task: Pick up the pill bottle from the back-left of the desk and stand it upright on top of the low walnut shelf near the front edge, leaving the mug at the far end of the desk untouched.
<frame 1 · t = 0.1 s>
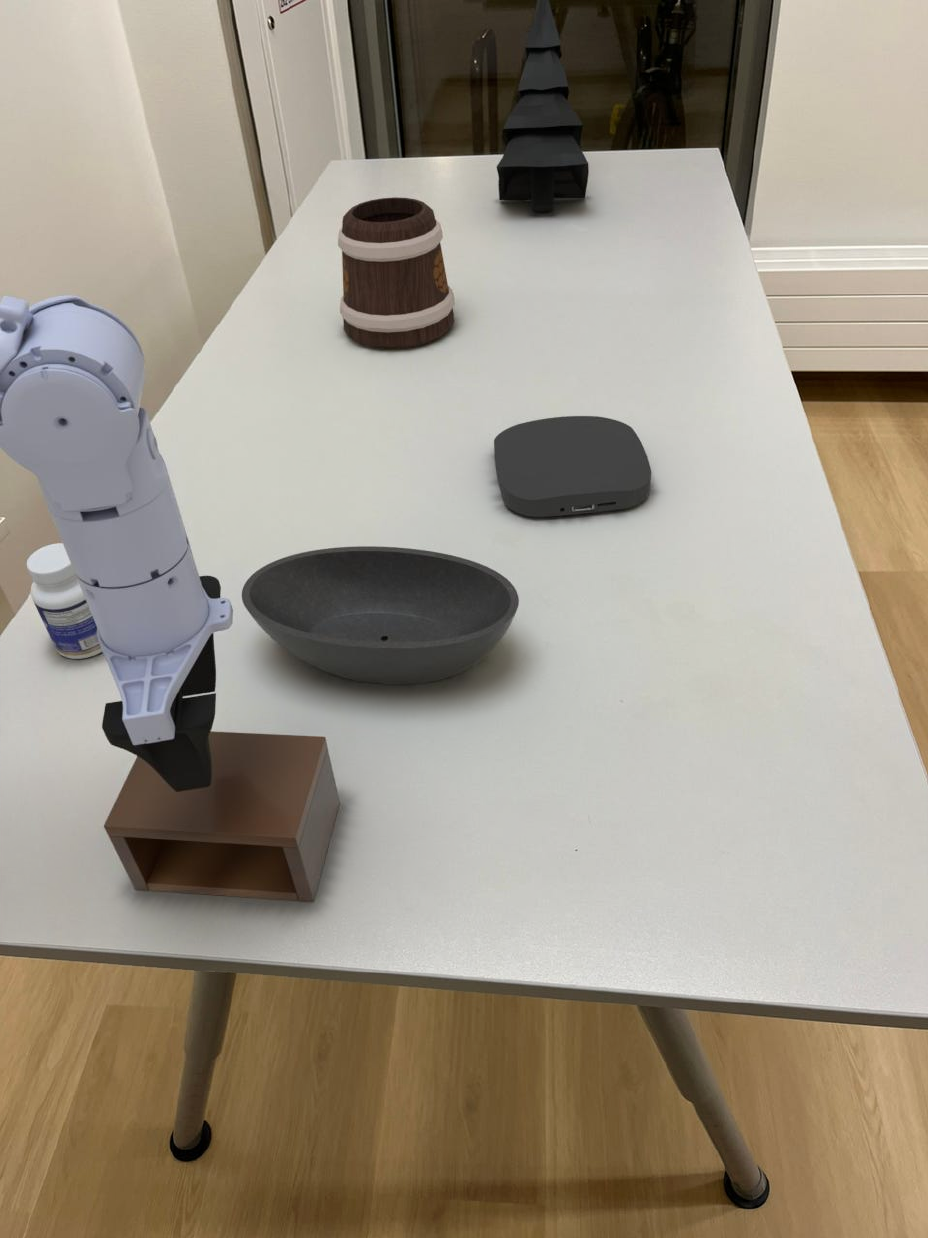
hand: (196, 735, 57), 11 cm above the table, tool pointing down, fingers open, 7 cm apart
mug: (402, 321, 128), on the table
shelf: (218, 779, 60), on the table
pill bottle: (88, 641, 81), on the table
decorative tree: (542, 200, 162), on the table
bowl: (387, 654, 78), on the table
media streaming box: (569, 477, 96), on the table
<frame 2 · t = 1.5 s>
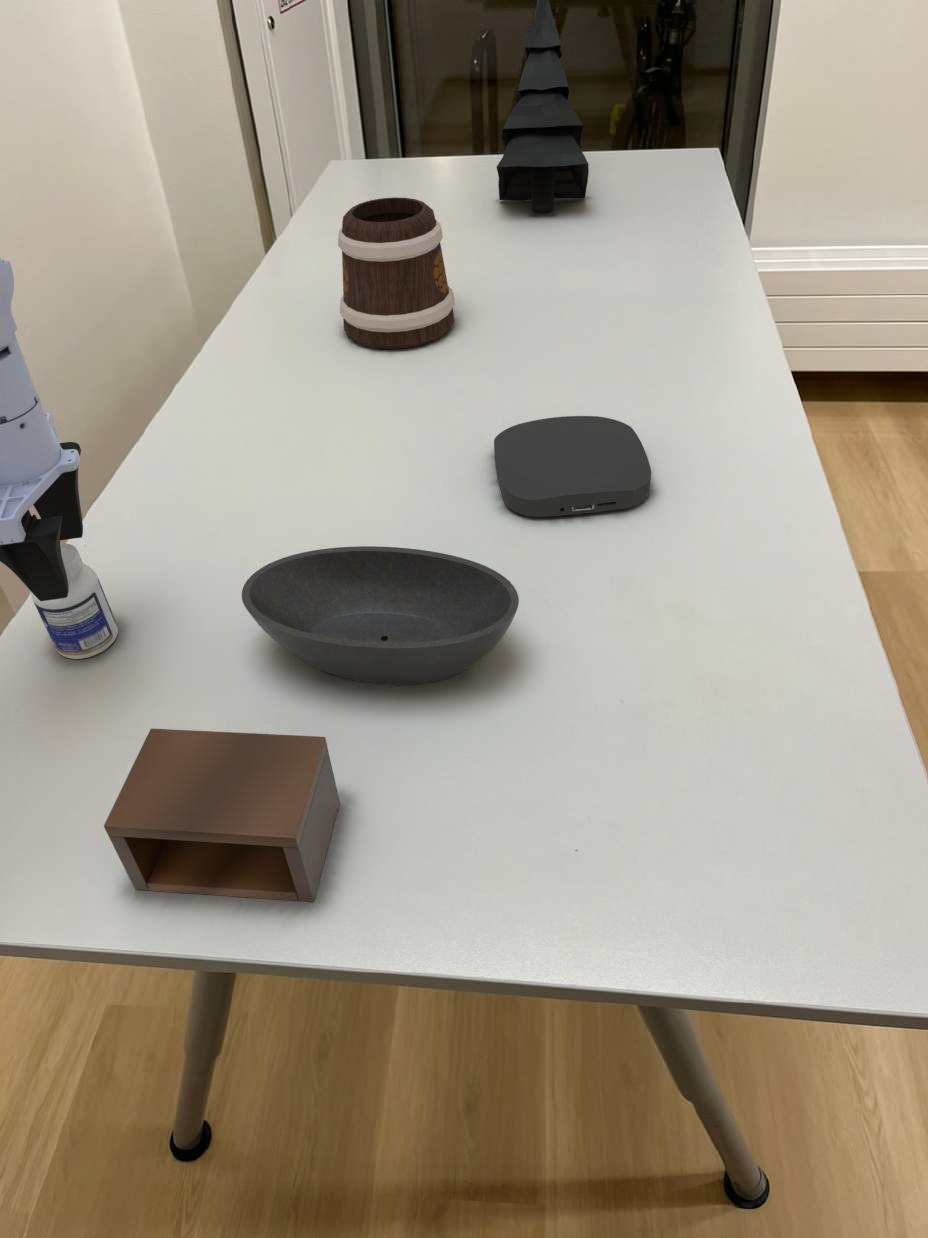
hand: (62, 565, 73), 10 cm above the table, tool pointing down, fingers open, 7 cm apart
nothing on the table moved.
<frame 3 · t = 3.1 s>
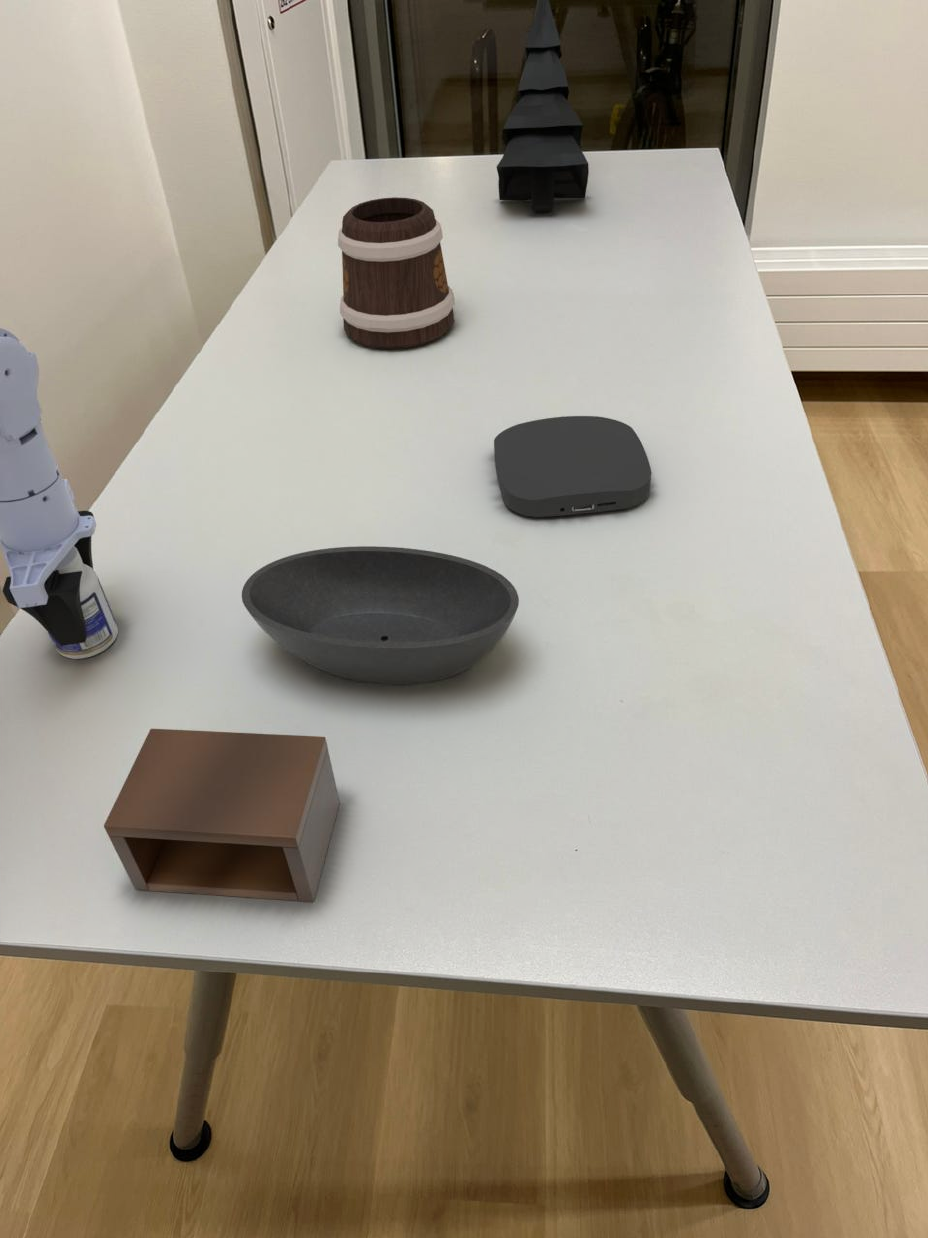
hand: (78, 618, 80), 2 cm above the table, tool pointing down, fingers closed on pill bottle, 5 cm apart
pill bottle: (88, 641, 81), on the table, touching gripper
everything else where it was.
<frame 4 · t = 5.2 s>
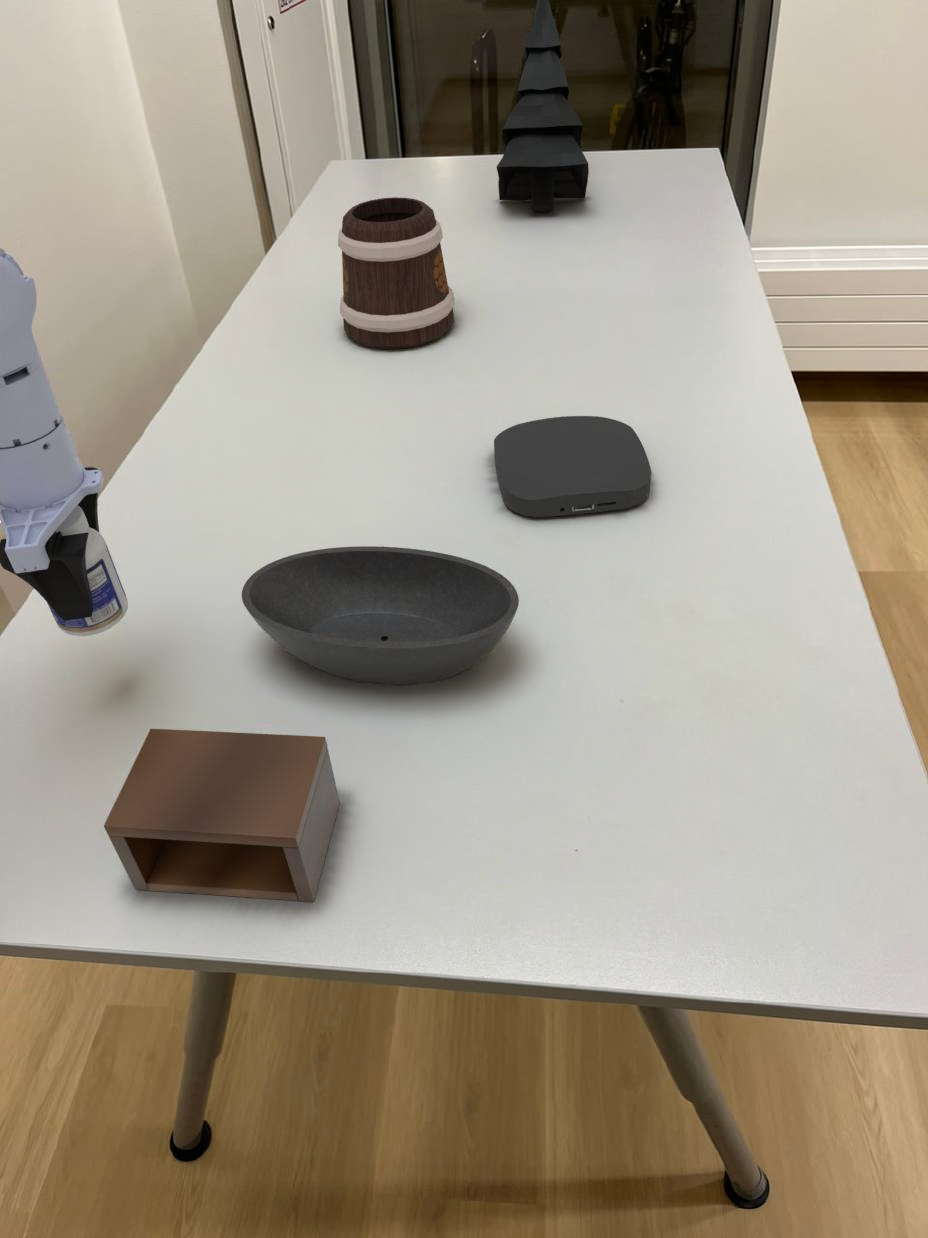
hand: (83, 590, 70), 10 cm above the table, tool pointing down, fingers closed on pill bottle, 5 cm apart
pill bottle: (94, 617, 72), point 8 cm above the table, touching gripper
everything else where it was.
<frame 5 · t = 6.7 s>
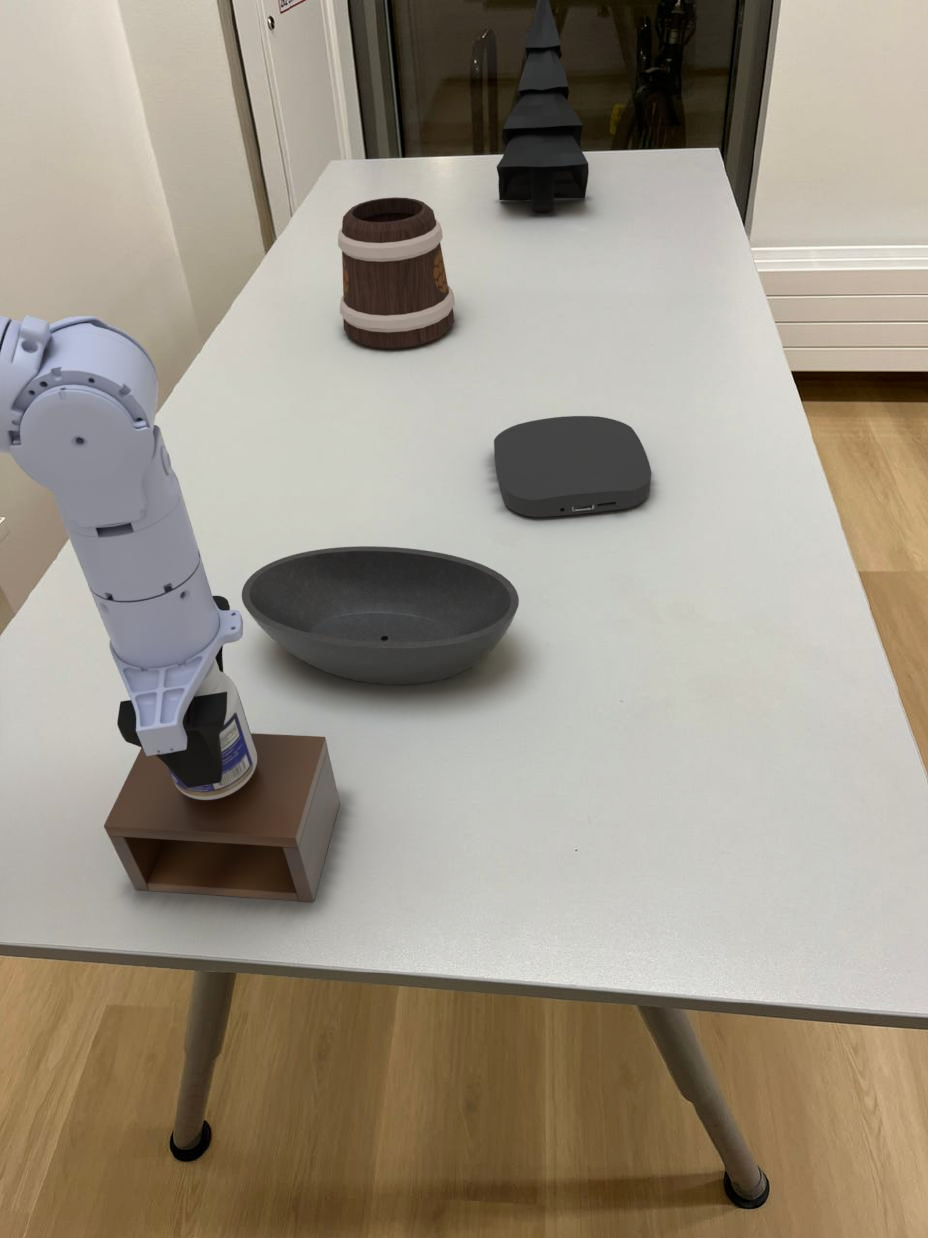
hand: (206, 744, 58), 10 cm above the table, tool pointing down, fingers closed on pill bottle, 5 cm apart
pill bottle: (216, 771, 59), point 8 cm above the table, touching gripper
everything else where it was.
when the fingers open (9 cm above the table, at t = 7.5 s): pill bottle stays where it is, resting on shelf.
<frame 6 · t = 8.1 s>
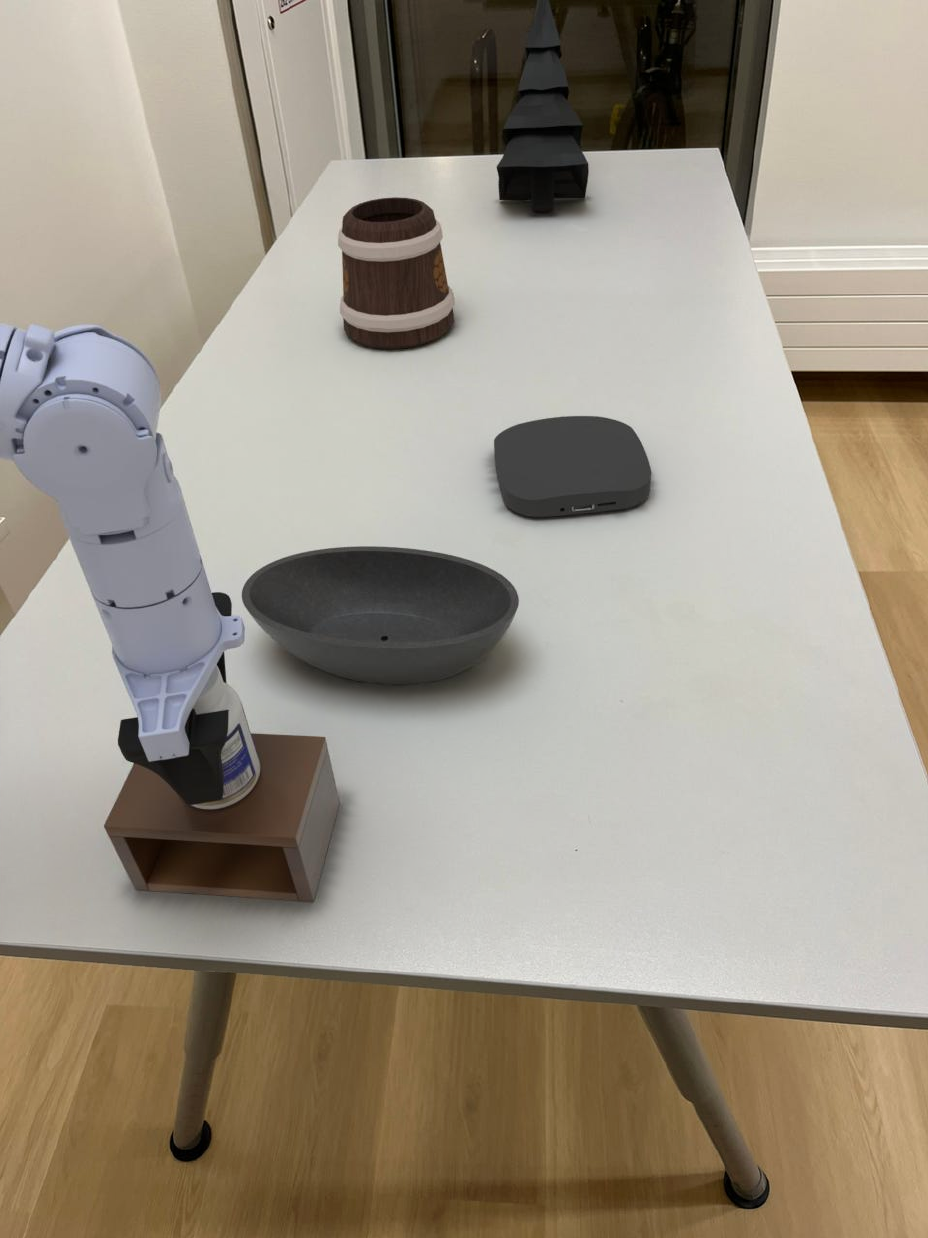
hand: (207, 749, 58), 10 cm above the table, tool pointing down, fingers open, 7 cm apart
pill bottle: (220, 780, 60), point 7 cm above the table, touching shelf
everything else where it was.
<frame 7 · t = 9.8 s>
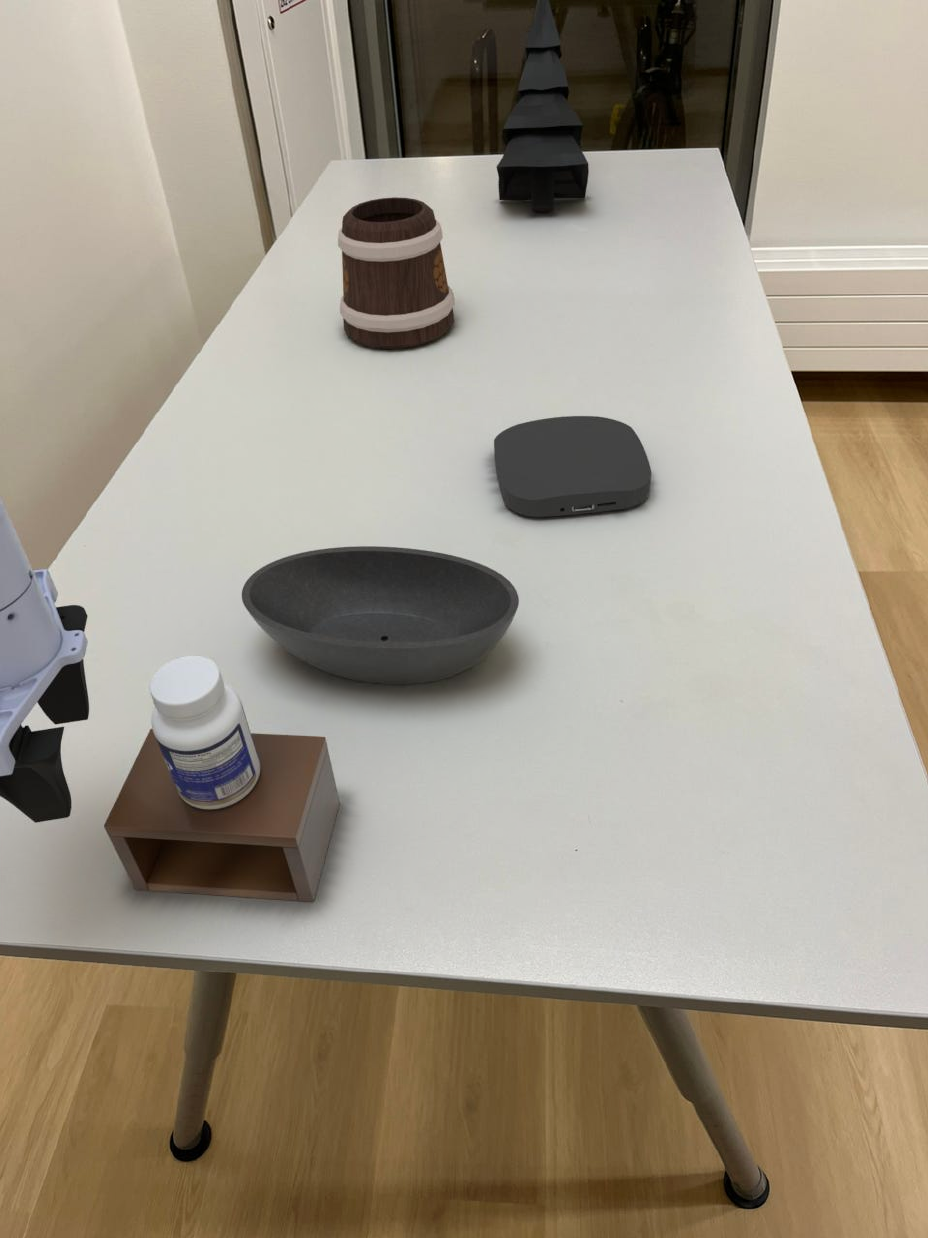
hand: (63, 764, 57), 10 cm above the table, tool pointing down, fingers open, 7 cm apart
nothing on the table moved.
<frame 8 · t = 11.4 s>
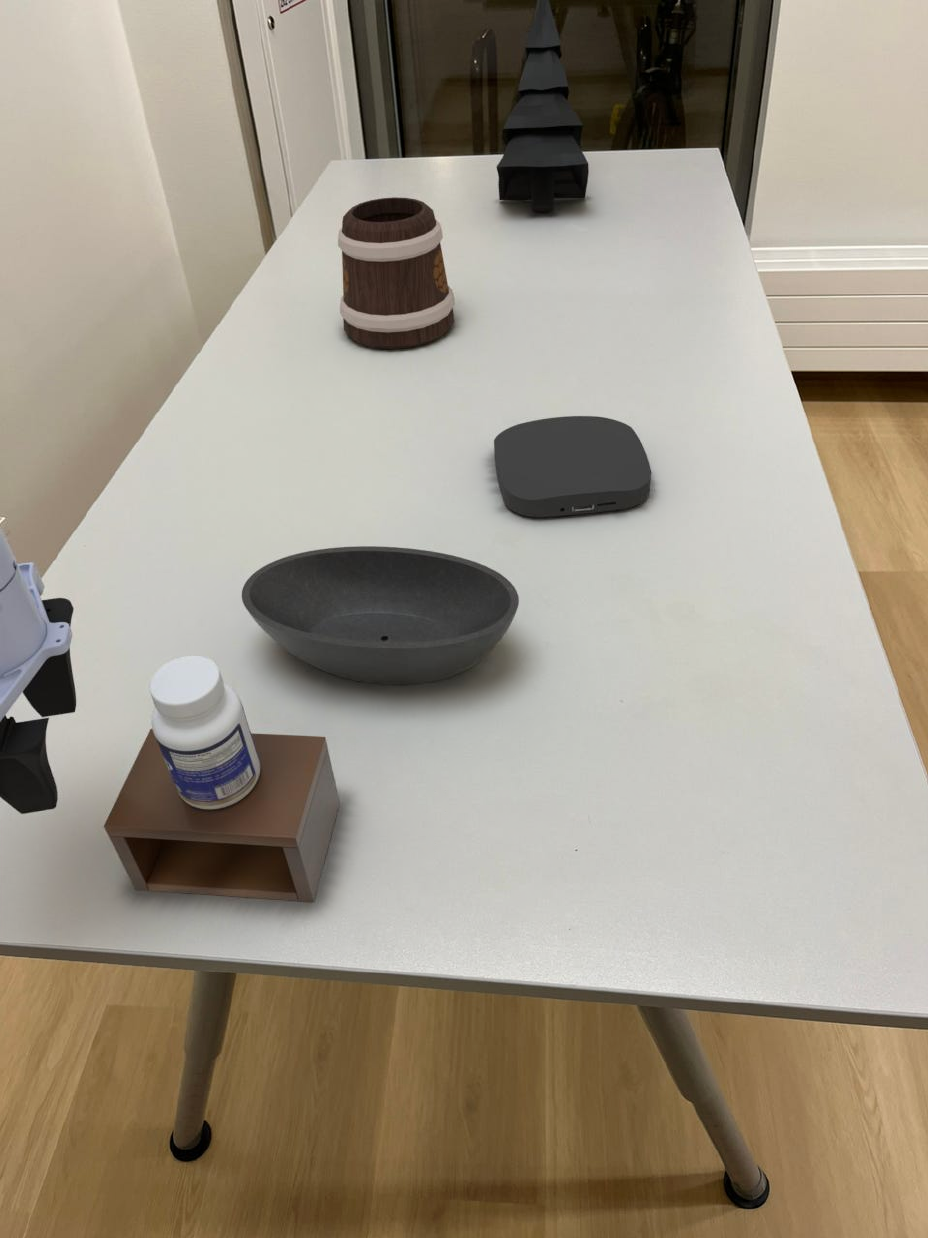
hand: (49, 756, 57), 10 cm above the table, tool pointing down, fingers open, 7 cm apart
nothing on the table moved.
at the end: pill bottle inside the target area on the shelf (0.1 cm from its centre), point 0.0 cm above the shelf's base; pill bottle tilted 0°; mug moved 0.2 cm from its start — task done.
